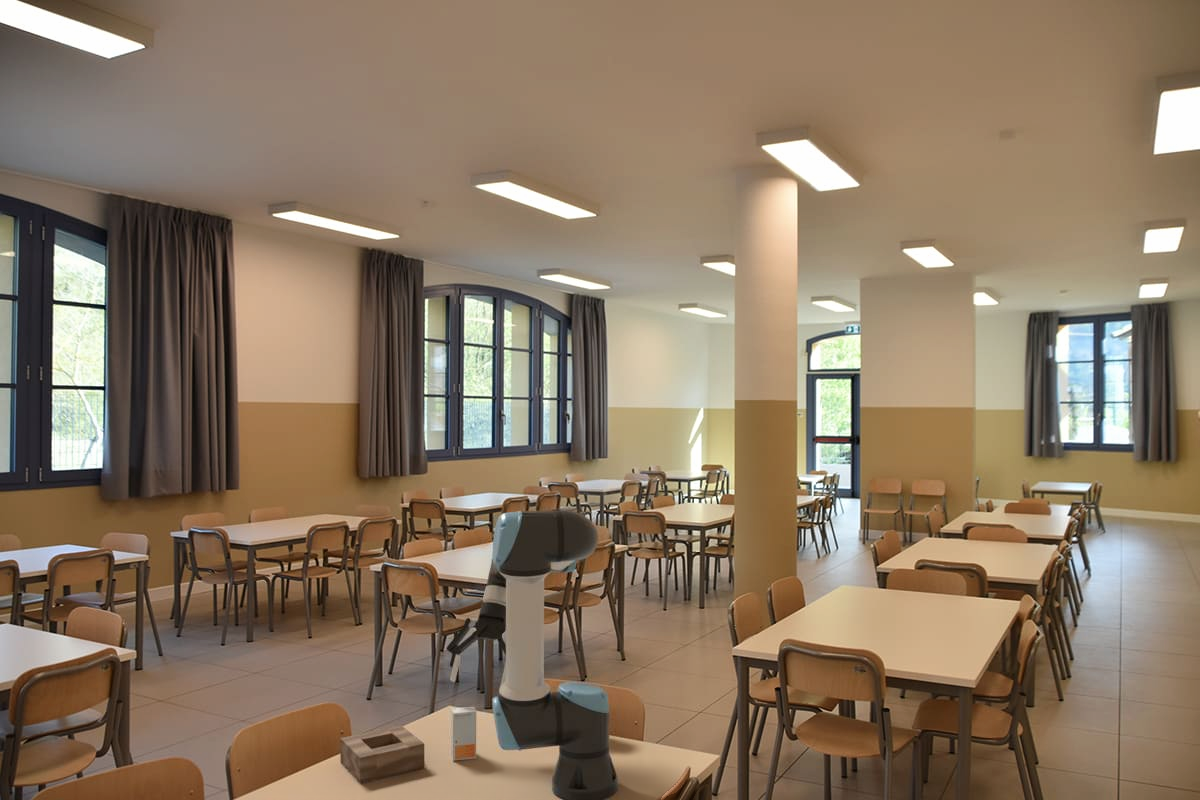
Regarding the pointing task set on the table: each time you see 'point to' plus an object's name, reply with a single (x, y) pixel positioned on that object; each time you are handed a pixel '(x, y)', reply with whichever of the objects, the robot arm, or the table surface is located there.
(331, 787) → the table surface
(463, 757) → the skincare box
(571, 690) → the robot arm
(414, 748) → the holder block
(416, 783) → the table surface
